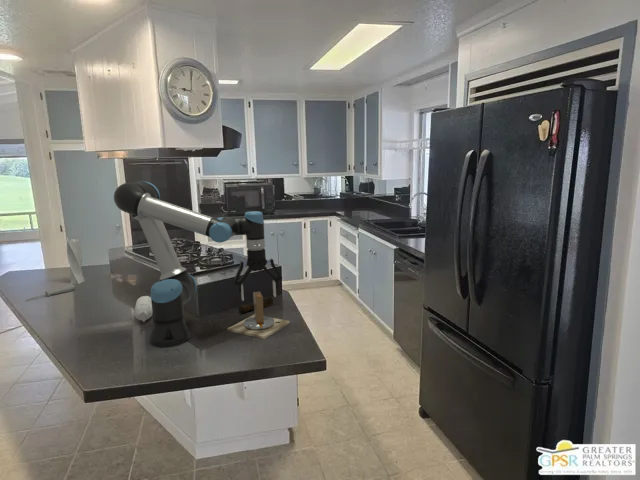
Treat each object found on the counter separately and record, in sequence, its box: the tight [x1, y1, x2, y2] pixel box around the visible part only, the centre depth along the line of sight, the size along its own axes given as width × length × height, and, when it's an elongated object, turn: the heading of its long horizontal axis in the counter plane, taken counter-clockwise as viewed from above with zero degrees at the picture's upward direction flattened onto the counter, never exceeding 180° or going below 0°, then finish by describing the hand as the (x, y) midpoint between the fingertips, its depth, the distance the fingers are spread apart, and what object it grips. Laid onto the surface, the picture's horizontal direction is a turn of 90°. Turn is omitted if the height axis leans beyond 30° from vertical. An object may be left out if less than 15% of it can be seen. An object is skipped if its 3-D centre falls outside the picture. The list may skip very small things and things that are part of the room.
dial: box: [244, 291, 274, 330], centre depth 182 cm, size 13×13×14 cm
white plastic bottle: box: [133, 295, 153, 323], centre depth 196 cm, size 8×19×8 cm, turn 19°
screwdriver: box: [25, 283, 76, 301], centre depth 233 cm, size 5×25×4 cm, turn 144°
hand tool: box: [238, 296, 274, 314], centre depth 207 cm, size 19×4×5 cm, turn 130°
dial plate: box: [226, 314, 291, 340], centre depth 184 cm, size 19×19×1 cm
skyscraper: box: [66, 236, 86, 285], centre depth 256 cm, size 8×8×28 cm
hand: (258, 297), depth 182 cm, fingers open, 13 cm apart
